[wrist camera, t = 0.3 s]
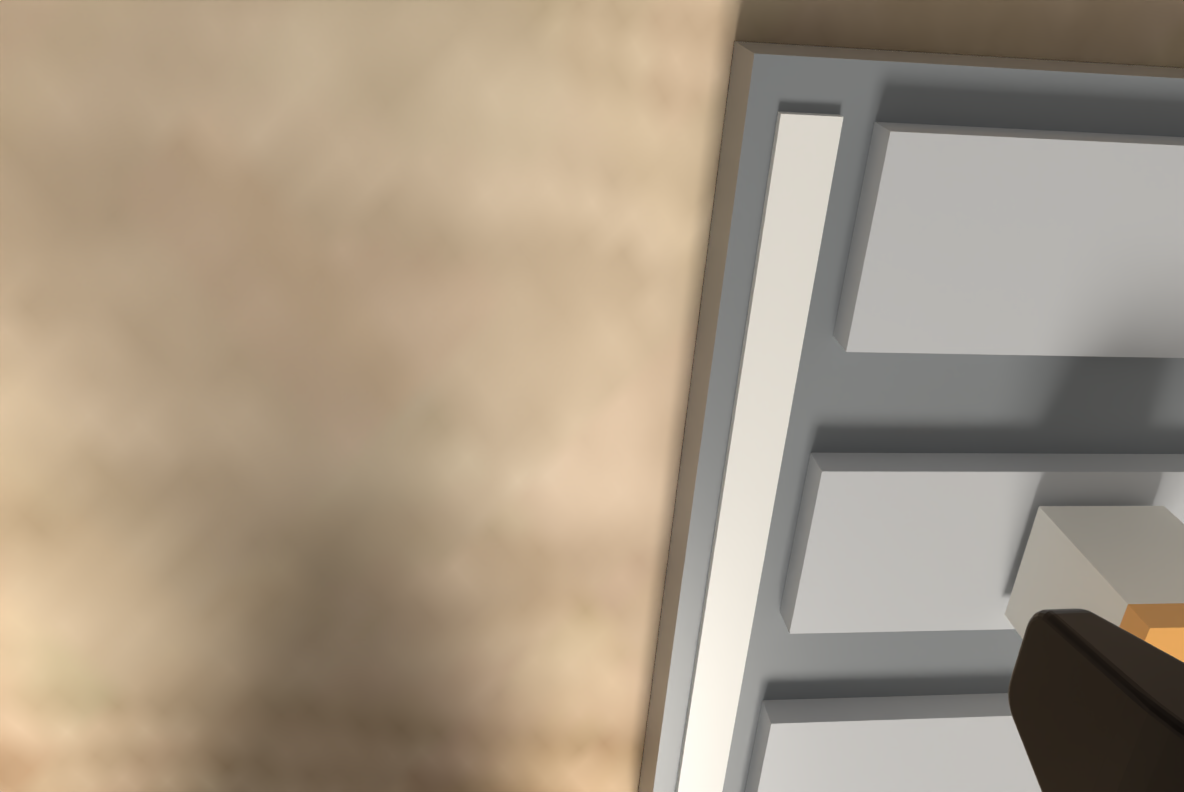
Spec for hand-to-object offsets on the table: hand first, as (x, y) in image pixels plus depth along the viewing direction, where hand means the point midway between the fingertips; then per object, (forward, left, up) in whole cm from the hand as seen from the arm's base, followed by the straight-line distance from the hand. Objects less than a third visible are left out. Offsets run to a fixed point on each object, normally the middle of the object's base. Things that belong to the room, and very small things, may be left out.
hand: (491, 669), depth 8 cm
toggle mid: (-7, -14, -12) cm, 20 cm away
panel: (-7, -13, -14) cm, 21 cm away
